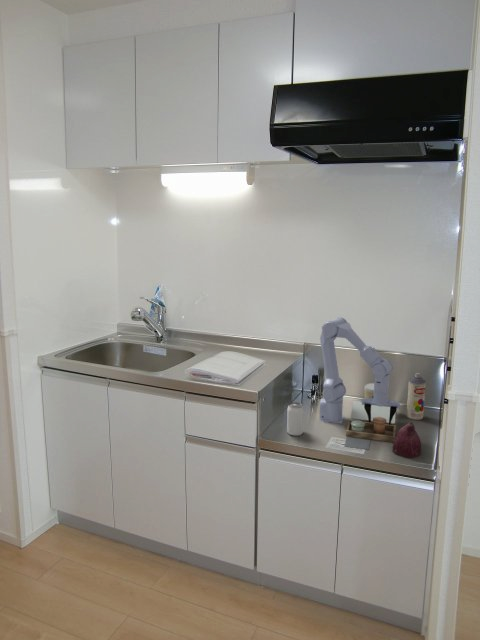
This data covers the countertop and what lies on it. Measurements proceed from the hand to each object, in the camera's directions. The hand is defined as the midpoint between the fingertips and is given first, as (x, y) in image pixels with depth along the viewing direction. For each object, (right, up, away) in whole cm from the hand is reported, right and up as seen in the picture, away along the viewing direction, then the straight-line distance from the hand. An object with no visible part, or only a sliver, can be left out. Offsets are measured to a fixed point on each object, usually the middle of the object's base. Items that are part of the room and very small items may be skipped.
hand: (379, 422), depth 199 cm
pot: (0, -4, +1) cm, 4 cm away
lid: (0, +3, +9) cm, 10 cm away
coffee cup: (+4, 0, +22) cm, 22 cm away
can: (-33, -5, +3) cm, 34 cm away
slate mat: (-11, -7, -8) cm, 15 cm away
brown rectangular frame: (-2, -4, +5) cm, 6 cm away
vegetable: (+6, -8, -14) cm, 18 cm away
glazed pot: (-9, -4, +1) cm, 10 cm away
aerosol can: (+19, -1, +15) cm, 25 cm away
